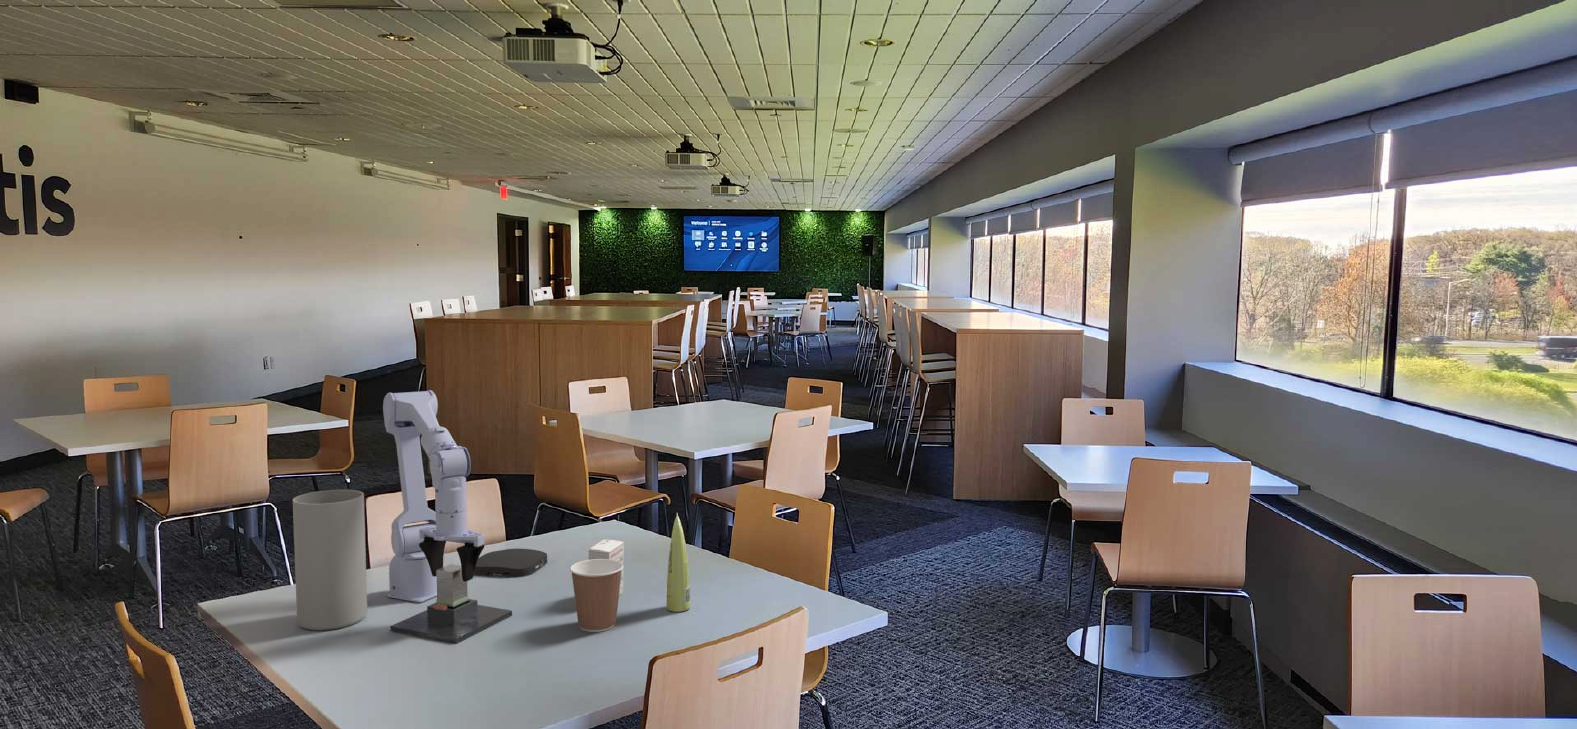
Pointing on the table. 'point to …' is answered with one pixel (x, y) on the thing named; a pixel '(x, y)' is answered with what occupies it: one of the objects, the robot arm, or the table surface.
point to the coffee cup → (596, 593)
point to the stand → (451, 621)
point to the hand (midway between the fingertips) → (452, 577)
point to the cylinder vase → (330, 559)
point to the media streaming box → (510, 563)
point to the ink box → (609, 553)
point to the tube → (678, 572)
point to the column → (451, 586)
